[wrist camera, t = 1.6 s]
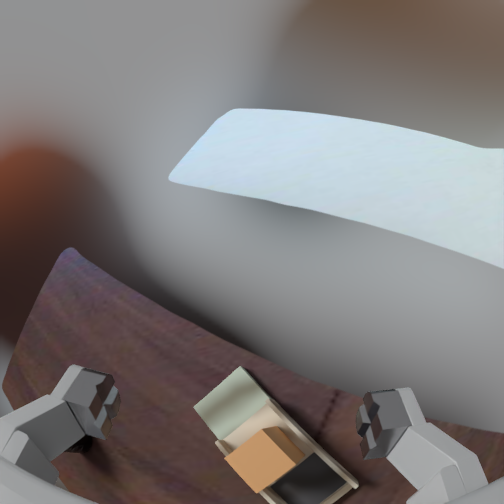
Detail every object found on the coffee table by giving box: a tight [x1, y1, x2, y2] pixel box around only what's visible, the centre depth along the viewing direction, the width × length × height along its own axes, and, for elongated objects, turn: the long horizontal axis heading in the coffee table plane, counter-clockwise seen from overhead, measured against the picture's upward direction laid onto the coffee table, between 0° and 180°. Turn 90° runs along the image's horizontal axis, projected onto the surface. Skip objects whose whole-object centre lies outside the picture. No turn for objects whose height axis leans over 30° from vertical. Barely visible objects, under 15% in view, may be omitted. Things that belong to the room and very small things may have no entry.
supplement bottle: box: [64, 434, 92, 453], centre depth 39 cm, size 7×7×12 cm
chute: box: [194, 366, 359, 504], centre depth 35 cm, size 25×10×4 cm, turn 41°
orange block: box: [225, 426, 305, 493], centre depth 31 cm, size 6×6×8 cm
